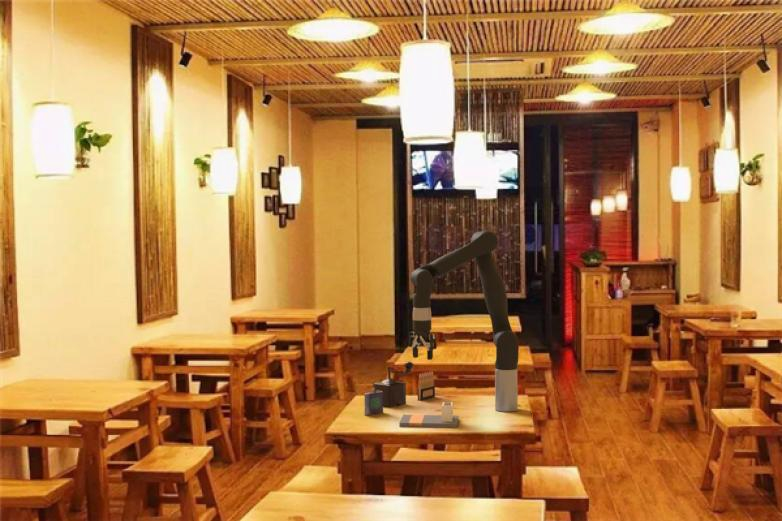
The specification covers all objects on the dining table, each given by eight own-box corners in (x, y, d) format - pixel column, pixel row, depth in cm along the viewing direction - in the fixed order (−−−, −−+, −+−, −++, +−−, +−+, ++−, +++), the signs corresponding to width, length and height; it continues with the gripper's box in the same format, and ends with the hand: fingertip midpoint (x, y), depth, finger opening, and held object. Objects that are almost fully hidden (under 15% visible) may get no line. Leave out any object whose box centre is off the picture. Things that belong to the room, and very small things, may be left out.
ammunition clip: (420, 400, 410) (420, 373, 409) (417, 400, 411) (417, 373, 410) (435, 397, 418) (435, 370, 418) (431, 396, 419) (431, 370, 419)
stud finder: (453, 417, 368) (452, 401, 367) (452, 421, 360) (451, 405, 359) (442, 417, 368) (442, 401, 368) (441, 421, 360) (441, 405, 360)
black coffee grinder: (390, 408, 395) (390, 365, 394) (372, 404, 402) (372, 363, 402) (415, 402, 406) (415, 361, 405) (397, 399, 413) (397, 359, 413)
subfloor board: (458, 419, 371) (458, 415, 371) (456, 427, 356) (456, 423, 356) (403, 418, 374) (403, 414, 373) (399, 426, 359) (399, 422, 359)
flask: (366, 416, 379) (366, 389, 379) (362, 414, 381) (362, 388, 381) (384, 413, 385) (384, 387, 384) (380, 411, 387) (380, 386, 387)
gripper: (440, 319, 374) (441, 359, 375) (417, 316, 385) (417, 355, 386) (427, 320, 369) (427, 361, 370) (403, 318, 380) (404, 357, 381)
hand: (422, 358), depth 378 cm, fingers open, 8 cm apart
